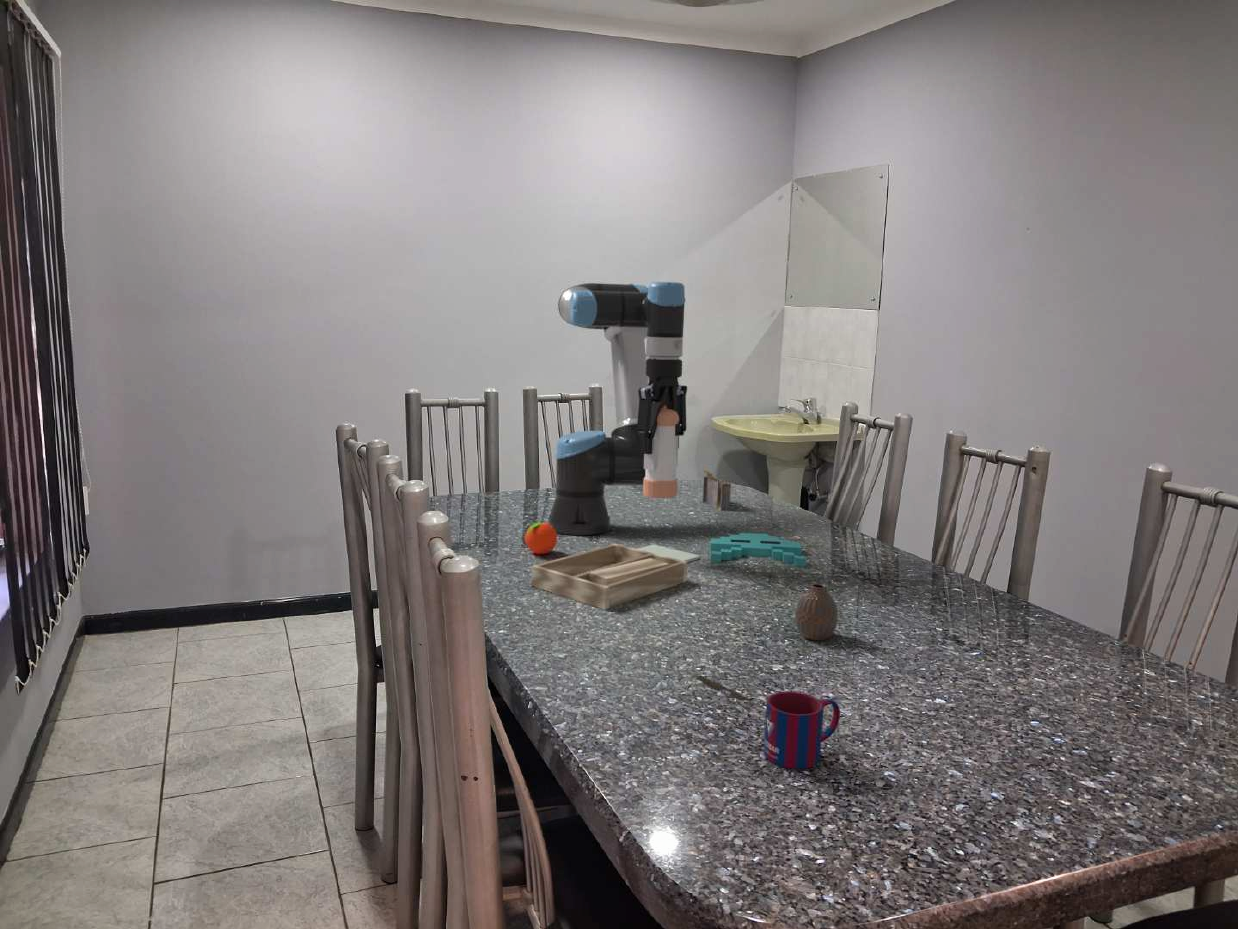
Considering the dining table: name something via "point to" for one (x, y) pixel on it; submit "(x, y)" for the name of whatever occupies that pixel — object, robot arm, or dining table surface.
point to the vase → (816, 613)
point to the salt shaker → (663, 458)
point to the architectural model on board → (716, 492)
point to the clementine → (541, 538)
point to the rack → (568, 583)
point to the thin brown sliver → (720, 688)
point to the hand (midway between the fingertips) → (660, 467)
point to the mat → (670, 553)
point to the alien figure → (756, 548)
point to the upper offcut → (625, 571)
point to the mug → (796, 729)
